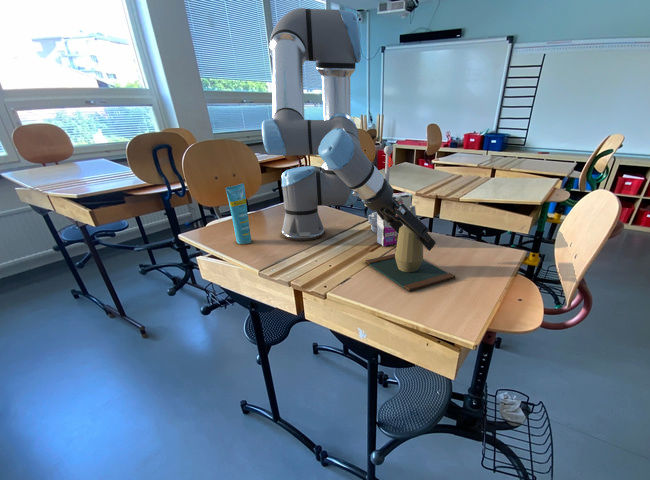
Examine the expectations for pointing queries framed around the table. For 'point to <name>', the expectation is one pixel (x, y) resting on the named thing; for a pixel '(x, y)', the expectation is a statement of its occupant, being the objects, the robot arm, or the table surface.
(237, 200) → the tube
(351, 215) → the table surface
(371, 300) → the table surface
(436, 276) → the desk pad
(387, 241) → the candy bar box
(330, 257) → the table surface
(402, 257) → the squeeze bottle
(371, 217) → the flag stand
